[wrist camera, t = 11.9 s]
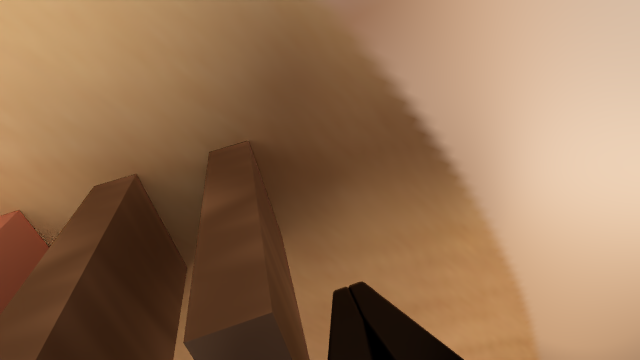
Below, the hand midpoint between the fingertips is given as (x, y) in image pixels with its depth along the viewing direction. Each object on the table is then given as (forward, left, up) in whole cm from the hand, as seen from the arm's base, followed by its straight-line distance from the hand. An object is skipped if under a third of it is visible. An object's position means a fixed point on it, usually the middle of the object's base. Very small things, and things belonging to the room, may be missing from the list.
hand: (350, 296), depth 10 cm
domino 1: (-2, +6, -7) cm, 10 cm away
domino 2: (-1, +2, -7) cm, 7 cm away
